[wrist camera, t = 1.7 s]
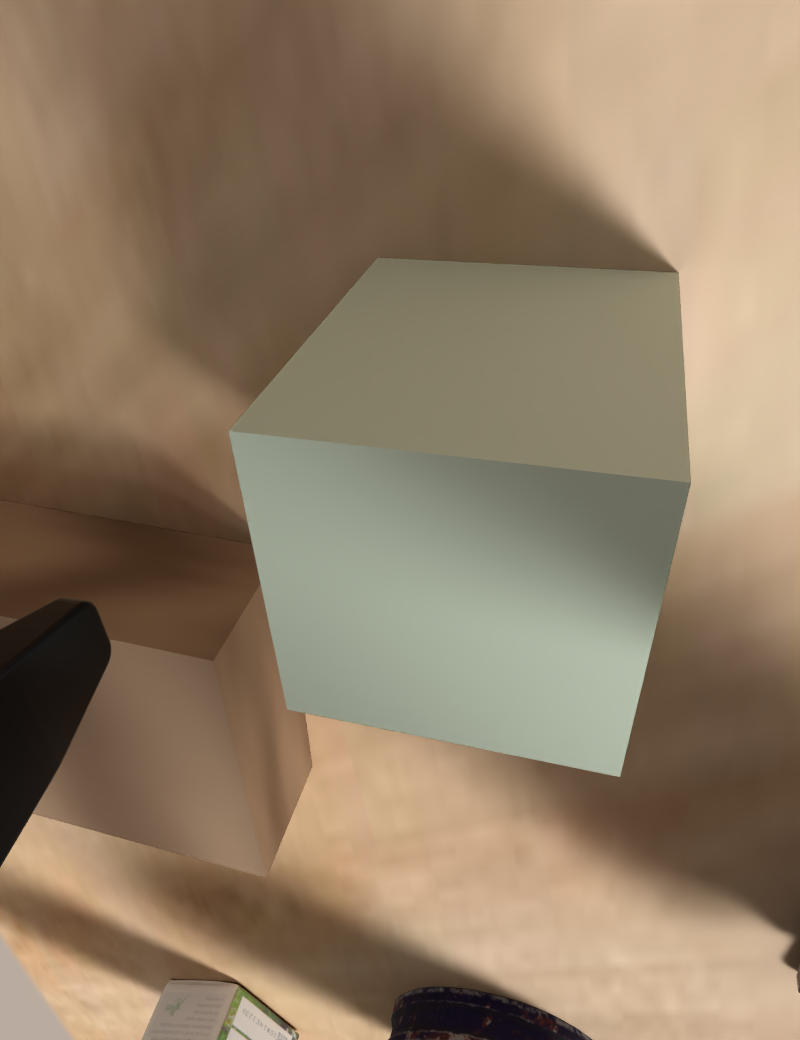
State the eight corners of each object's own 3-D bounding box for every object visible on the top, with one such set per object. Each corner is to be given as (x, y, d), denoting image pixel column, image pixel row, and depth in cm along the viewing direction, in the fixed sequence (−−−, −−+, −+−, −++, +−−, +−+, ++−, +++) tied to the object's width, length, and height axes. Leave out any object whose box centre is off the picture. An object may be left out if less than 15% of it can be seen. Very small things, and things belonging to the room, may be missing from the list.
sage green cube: (678, 271, 12) (690, 483, 7) (631, 520, 15) (620, 777, 10) (378, 256, 13) (228, 430, 8) (391, 489, 16) (287, 708, 12)
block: (286, 540, 18) (213, 661, 15) (315, 757, 24) (265, 877, 21) (-24, 487, 20) (-144, 585, 17) (70, 700, 26) (-9, 802, 23)
